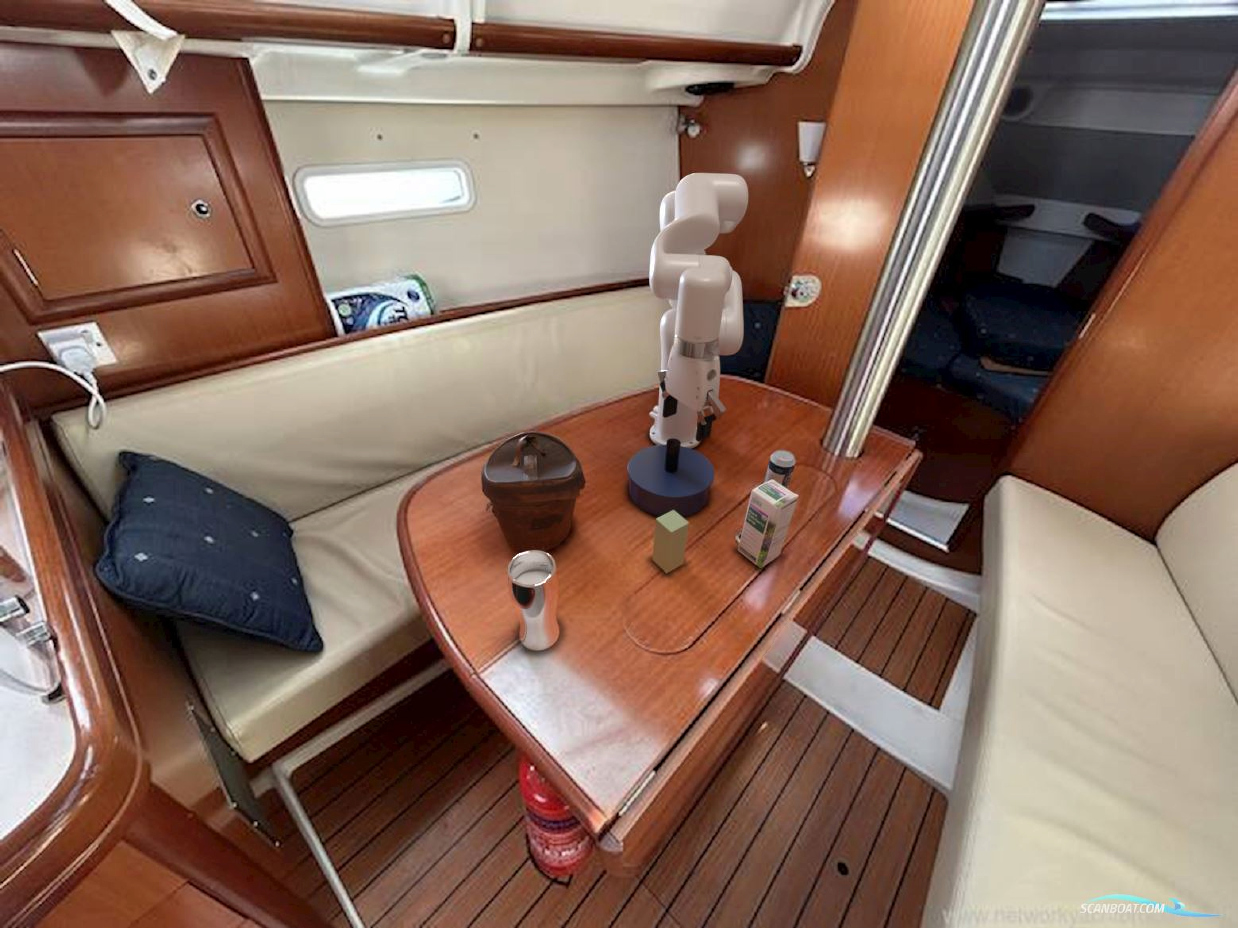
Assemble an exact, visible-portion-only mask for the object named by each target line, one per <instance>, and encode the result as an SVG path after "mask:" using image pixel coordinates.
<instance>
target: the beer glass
mask: <svg viewBox="0 0 1238 928" xmlns="http://www.w3.org/2000/svg"><path fill="white" fill-rule="evenodd" d="M506 572H507V584H508V595H509V598H510V602H511V605H512V608H513V609H514V612H515V614H516V616H517V618H518V620H519V625H520V626H519V632H518V633H519V635H518V636H519V641H520V642H521V644H522V645H523V646H524V647H525V648H527V649H528V650H531V651H537V652H539V651H540V652H541V651H545V650H546V649H550V648H551V647H552V646H554V644H555V643H556V642H557V641H558V640H559V637H560V626H559V623H558V621H557V617H556V615H557V609H558V603H559V596H560V582H559V575H558V570H557V563H556V561H555V559H554V557H553V555H551V554H550V553H548V552H546V551H540V550H529V551H522V552H520V553H518V554H516V555H515V556H514V557H513V558H512V559H511V560H510V561H509V562H508V566H507V571H506Z"/></svg>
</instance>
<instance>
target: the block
mask: <svg viewBox="0 0 1238 928" xmlns="http://www.w3.org/2000/svg"><path fill="white" fill-rule="evenodd" d="M689 527H690V522H689V521H688V520H687V519H685V517H682V516H681V515H679V514H678V513H677V512H676V511H675V510H672V511H670V512H668V513H666V514H664V515H662V516H657V518H655V525H654V535H653V547H652V561H653V562H654V563H655V564H656V565H657V566H658V567H659V568H660V569H661V570H662V571H663V572H664V573H665V574H668V573H671V572H672V571H673V570H675V569H677V568H679V567H680V566H682V565H684V562H685V555H686V550H687V549H686V548H687V543H688V542H687V541H688V534H689V530H690V529H689Z"/></svg>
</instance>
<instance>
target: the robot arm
mask: <svg viewBox="0 0 1238 928" xmlns="http://www.w3.org/2000/svg"><path fill="white" fill-rule="evenodd" d="M748 204H749V187H748V184H747V182H746V180H745V178H744V177H743V176H741V175H740V174H736V173H717V172H716V173H715V172H712V173H711V172H695V173H691V174H688V175H685V176H684V177H683V178H682V179H681V180H679V182H678V183H677V186H676V189H675V190H674V191H671V192H669V193H667V194H665V195H664V197H663V198H662V200H661V203H660V206H659V229H660V232H659V233H658V234H657V236H656V237H655V239H654V241H653V243H652V246H651V249H650V256H649V274H648V279H649V280H648V281H649V288H650V291H651V293H652V294H653V296H655V297H656V298H658V299H661V300H668V302H669V305H670V306H671V308H670V309H668V310H666V311H665V312H664V313H663V315H662V317H661V319H660V324H659V335H660V336H659V337H660V348H661V349H660V350H661V359H660V360H661V361H660V362H661V363H660V370H658V371H657V375H658V379H659V389H658V390H659V391H658V392H659V393H658V403H657V404H658V405H655V406H654V407H653V408H652V411H650V412H649V414H648V415H649V417H650V418H652V419H654V422H653V425H652V426H651V427H650V429H649V438H650V440H651V441H652V442H653V443H654V444H655V445H666V442H667V440H668V439H671V438H674V439H678V440H679V441H680V442H681V446H683V447H687V448H690V449H694V448H696V447H697V446H698V445H699V444H701V442H702V441H704V440H707V439H709V438H710V436H711V432H712V427H713V426H712V425H713V422H715V421H717V420H719V419H721V418H722V416H723V415H724V414H725V412H726V411H727V409H726V407H725V406H724V404H723V403H722V401H721V400H720V398H719V394H720V385H721V384H720V383H721V359H720V356H731V355H735V354H736V353H738V352H739V351H740V349H741V347H742V345H743V342H744V334H745V333H744V332H745V330H744V327H745V326H744V325H745V324H744V323H745V322H744V303H743V299H744V298H743V284H742V280H741V276H740V275H739V274H738V272H737V271H735V270H733V267H732V266H731V263H730V261H729V260H728V259H727V258H726V257H724V256H720V255H713V254H712V255H710V254H707V253H706V249H708V248H709V247H711V246H712V245H713V244H714V243H716V241H717V239H718V237H719V235H720V234H729V233H731V232H733V231H734V230H735V229H736V227H737V226H738V225H739V224H740V223H741V222H742V220H743V218H744V216H745V215H746V211H747V209H748V206H749V205H748ZM705 410H706V413H707V415H705ZM698 419H699V422H698Z"/></svg>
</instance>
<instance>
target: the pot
mask: <svg viewBox="0 0 1238 928" xmlns="http://www.w3.org/2000/svg"><path fill="white" fill-rule="evenodd" d="M710 488H711V486H710V487H709V488H708V489H707V490H706V491H704V492H703V493H701V494H699V495H696V496H693V497H689V498H683V499H668V498H661V497H657V496H654V495H651V494H649V493H646V492H644V491H643V490H641V489H640V488H638V487H637V486H636V485H635V484H634V483H633V482H632V481H631V479H630V477H629V476H628V490H629V491H628V492H629V497H630V498H631V500H632V501H633V502H634V504H635V505H636V506H637V507H639V508H640V509H641V510H643V511H644V512H646V513H648V514H651V515H654V516H657V517H660V516H662V515H664V514H666V513H668V512H670V511H672V510H675V511H676V512H677V513H678V514H679V515H681V516H682V517H683V518H685V517H688V516H691V515H693V514H696V513H697V512H699V511H701V510H702V509H704V507H705V506H706V504H707V502H708V501H709V496H710V495H709V494H710Z"/></svg>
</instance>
